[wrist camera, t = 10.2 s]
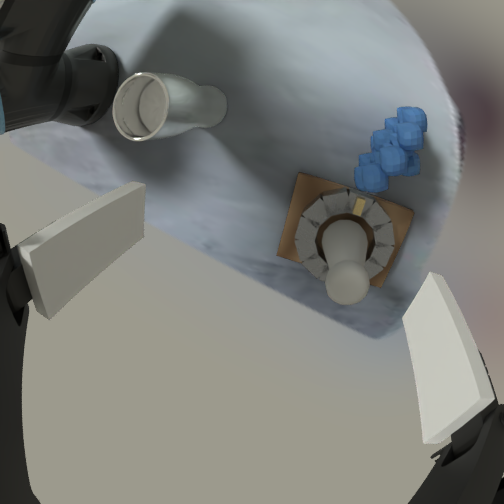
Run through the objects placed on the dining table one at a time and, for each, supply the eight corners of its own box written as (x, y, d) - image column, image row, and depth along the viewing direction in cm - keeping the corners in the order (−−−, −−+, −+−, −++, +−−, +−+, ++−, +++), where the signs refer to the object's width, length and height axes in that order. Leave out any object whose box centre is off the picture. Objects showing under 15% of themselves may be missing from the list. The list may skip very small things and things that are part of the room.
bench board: (277, 251, 41) (276, 255, 40) (299, 171, 35) (298, 173, 34) (379, 283, 38) (380, 287, 37) (412, 210, 32) (414, 212, 31)
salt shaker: (313, 230, 36) (303, 285, 25) (347, 204, 34) (354, 250, 22) (340, 262, 37) (340, 324, 26) (373, 238, 35) (389, 295, 23)
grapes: (378, 198, 33) (397, 234, 23) (338, 164, 33) (342, 186, 23) (430, 133, 27) (473, 142, 17) (391, 96, 27) (420, 86, 17)
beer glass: (219, 74, 31) (155, 55, 18) (238, 119, 33) (182, 121, 21) (176, 96, 34) (102, 95, 21) (194, 139, 36) (125, 156, 23)
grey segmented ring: (287, 260, 39) (284, 271, 37) (312, 175, 33) (310, 180, 31) (369, 285, 38) (371, 298, 35) (403, 206, 32) (409, 214, 29)
